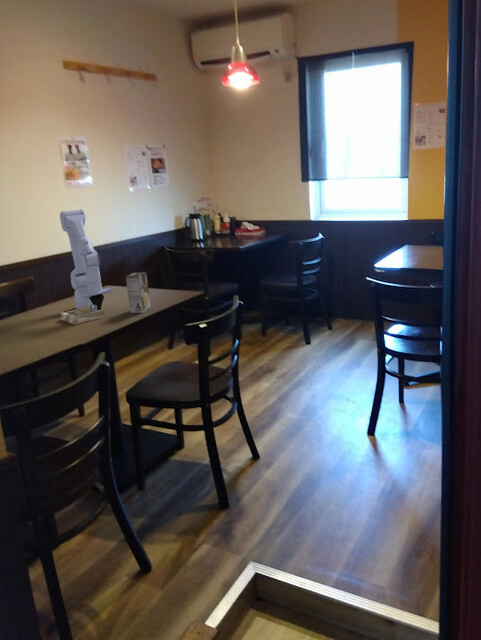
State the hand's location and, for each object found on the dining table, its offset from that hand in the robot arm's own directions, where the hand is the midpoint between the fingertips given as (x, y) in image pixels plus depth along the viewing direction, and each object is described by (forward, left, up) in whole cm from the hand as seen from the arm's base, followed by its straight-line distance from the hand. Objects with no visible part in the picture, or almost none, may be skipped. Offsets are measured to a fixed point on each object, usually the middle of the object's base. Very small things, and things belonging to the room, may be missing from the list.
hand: (98, 312), depth 241 cm
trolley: (0, -6, -1) cm, 6 cm away
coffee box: (+10, +15, -1) cm, 18 cm away
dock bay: (0, -7, -1) cm, 7 cm away
